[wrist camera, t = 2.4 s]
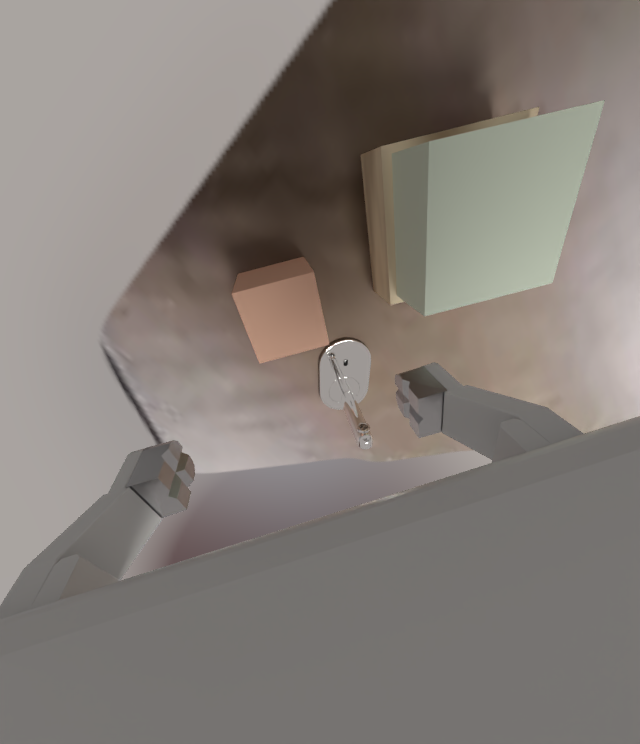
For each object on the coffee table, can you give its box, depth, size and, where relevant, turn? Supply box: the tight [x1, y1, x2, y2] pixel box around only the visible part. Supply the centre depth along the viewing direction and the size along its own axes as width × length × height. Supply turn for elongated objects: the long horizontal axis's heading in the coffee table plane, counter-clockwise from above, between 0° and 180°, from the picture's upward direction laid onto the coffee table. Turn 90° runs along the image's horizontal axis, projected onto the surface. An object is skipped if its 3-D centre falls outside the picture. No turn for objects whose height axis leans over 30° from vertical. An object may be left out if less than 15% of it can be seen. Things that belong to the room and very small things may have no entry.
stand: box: [319, 338, 373, 449], centre depth 24 cm, size 8×5×8 cm
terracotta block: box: [232, 257, 330, 363], centre depth 20 cm, size 5×5×5 cm
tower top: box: [392, 100, 605, 316], centre depth 16 cm, size 8×8×4 cm
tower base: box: [361, 107, 539, 305], centre depth 19 cm, size 9×9×4 cm
